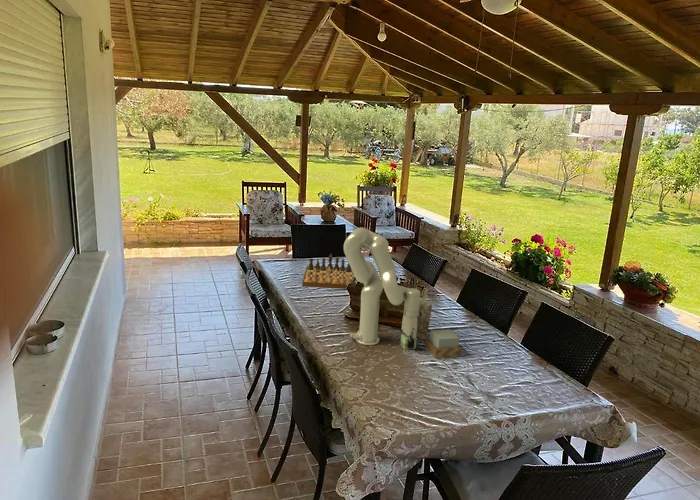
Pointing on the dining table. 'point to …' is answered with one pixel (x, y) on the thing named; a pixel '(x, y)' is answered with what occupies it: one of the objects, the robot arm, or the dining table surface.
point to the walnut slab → (441, 350)
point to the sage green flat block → (444, 338)
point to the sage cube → (406, 341)
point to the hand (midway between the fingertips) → (408, 344)
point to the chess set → (328, 275)
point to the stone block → (423, 318)
